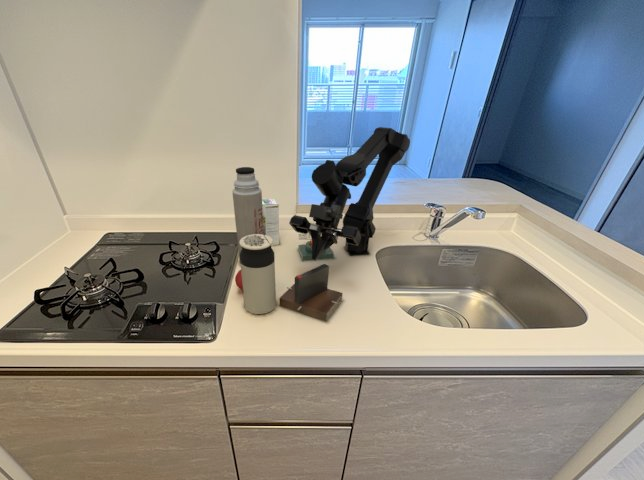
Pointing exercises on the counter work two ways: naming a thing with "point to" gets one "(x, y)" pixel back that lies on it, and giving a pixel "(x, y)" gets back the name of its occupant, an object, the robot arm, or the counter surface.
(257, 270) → the travel mug
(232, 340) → the counter surface
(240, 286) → the onion
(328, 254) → the button box
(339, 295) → the brown wooden base
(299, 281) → the lever
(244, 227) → the thermos bottle
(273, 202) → the syrup box
